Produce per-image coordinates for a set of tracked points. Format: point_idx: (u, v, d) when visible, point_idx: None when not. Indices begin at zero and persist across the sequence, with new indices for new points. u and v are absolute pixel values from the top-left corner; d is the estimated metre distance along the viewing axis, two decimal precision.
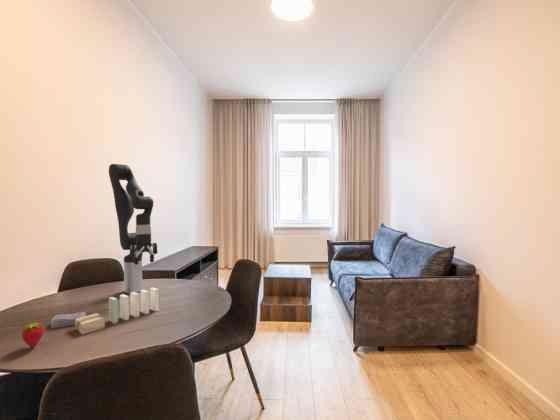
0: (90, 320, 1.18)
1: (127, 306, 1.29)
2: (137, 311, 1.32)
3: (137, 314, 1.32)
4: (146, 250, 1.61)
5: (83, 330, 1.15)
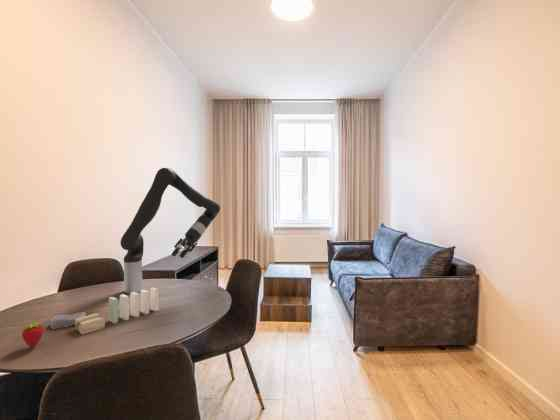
0: (90, 320, 1.18)
1: (127, 306, 1.29)
2: (137, 311, 1.32)
3: (137, 314, 1.32)
4: None
5: (83, 330, 1.15)
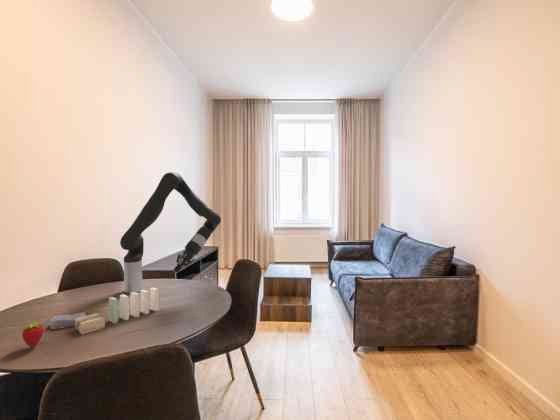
0: (90, 320, 1.18)
1: (127, 306, 1.29)
2: (137, 311, 1.32)
3: (137, 314, 1.32)
4: None
5: (83, 330, 1.15)
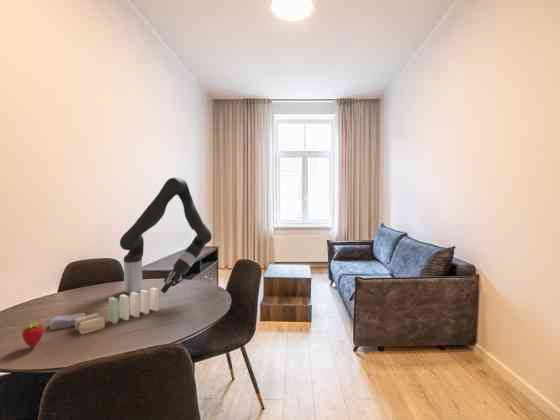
0: (90, 320, 1.18)
1: (127, 306, 1.29)
2: (137, 311, 1.32)
3: (137, 314, 1.32)
4: None
5: (83, 330, 1.15)
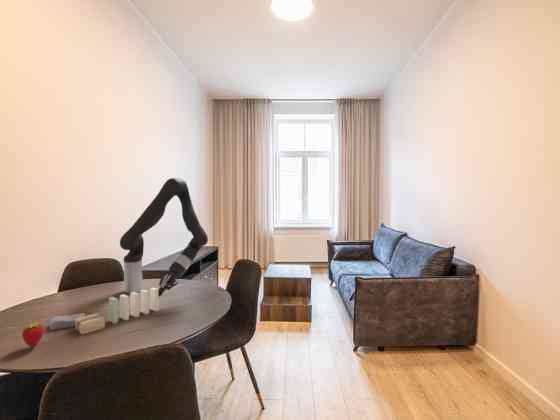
0: (90, 320, 1.18)
1: (127, 306, 1.29)
2: (137, 311, 1.32)
3: (137, 314, 1.32)
4: None
5: (83, 330, 1.15)
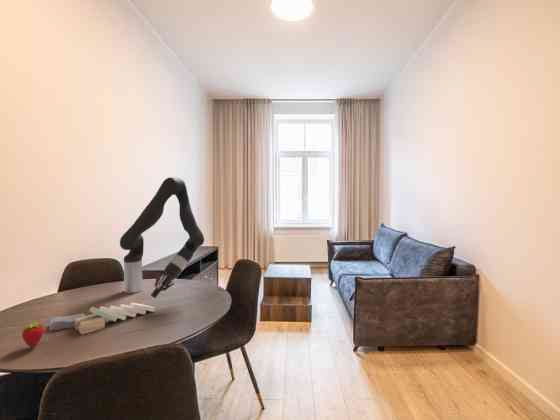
0: (90, 320, 1.18)
1: (114, 313, 1.25)
2: (130, 314, 1.30)
3: (133, 315, 1.31)
4: None
5: (83, 330, 1.15)
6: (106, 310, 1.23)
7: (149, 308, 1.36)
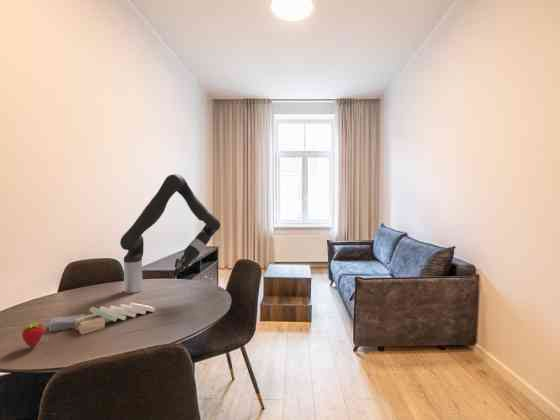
0: (90, 320, 1.18)
1: (114, 313, 1.25)
2: (130, 314, 1.30)
3: (133, 315, 1.31)
4: None
5: (83, 330, 1.15)
6: (106, 310, 1.23)
7: (149, 308, 1.36)
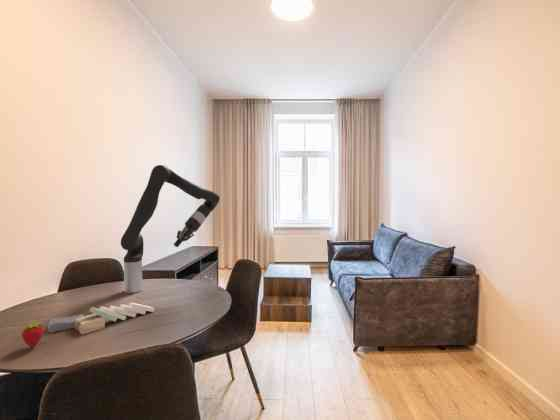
0: (90, 320, 1.18)
1: (114, 313, 1.25)
2: (130, 314, 1.30)
3: (133, 315, 1.31)
4: None
5: (83, 330, 1.15)
6: (106, 310, 1.23)
7: (148, 308, 1.36)
